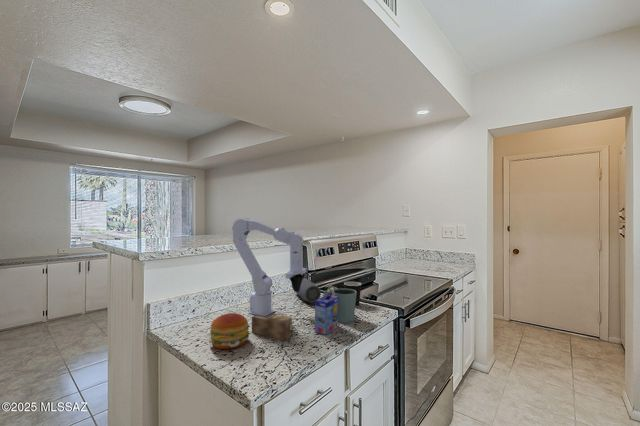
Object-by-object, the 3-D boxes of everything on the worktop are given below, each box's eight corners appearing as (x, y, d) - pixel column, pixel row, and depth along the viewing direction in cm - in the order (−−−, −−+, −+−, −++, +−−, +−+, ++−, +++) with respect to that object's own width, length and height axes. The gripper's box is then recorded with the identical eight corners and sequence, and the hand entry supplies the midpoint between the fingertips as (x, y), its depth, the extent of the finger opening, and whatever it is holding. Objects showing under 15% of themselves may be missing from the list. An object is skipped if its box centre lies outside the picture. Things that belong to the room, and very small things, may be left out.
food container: (337, 316, 128) (337, 293, 128) (323, 315, 130) (323, 292, 130) (340, 307, 140) (340, 286, 140) (328, 306, 142) (328, 285, 142)
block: (263, 332, 111) (263, 319, 111) (274, 326, 118) (274, 314, 118) (281, 336, 108) (281, 323, 108) (291, 329, 114) (291, 317, 114)
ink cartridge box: (326, 335, 108) (326, 296, 108) (314, 332, 111) (313, 294, 111) (339, 326, 117) (338, 290, 117) (326, 323, 120) (326, 288, 120)
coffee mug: (364, 303, 147) (364, 282, 147) (356, 307, 139) (356, 286, 139) (343, 299, 153) (343, 280, 153) (335, 303, 146) (335, 283, 145)
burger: (210, 355, 94) (209, 324, 94) (207, 339, 106) (207, 311, 106) (252, 347, 99) (252, 318, 99) (245, 332, 112) (245, 306, 111)
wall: (251, 332, 111) (251, 316, 111) (255, 330, 113) (255, 315, 113) (287, 340, 104) (287, 323, 104) (290, 338, 106) (290, 322, 106)
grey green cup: (327, 319, 124) (327, 291, 124) (342, 313, 132) (342, 286, 132) (346, 325, 118) (346, 295, 117) (361, 319, 125) (361, 290, 125)
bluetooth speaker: (290, 294, 163) (290, 276, 163) (306, 292, 167) (305, 274, 167) (304, 306, 142) (303, 285, 142) (321, 303, 146) (321, 283, 146)
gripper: (295, 264, 124) (295, 296, 124) (312, 259, 137) (312, 288, 137) (281, 263, 127) (281, 294, 127) (299, 258, 140) (299, 286, 140)
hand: (296, 291), depth 132 cm, fingers closed
